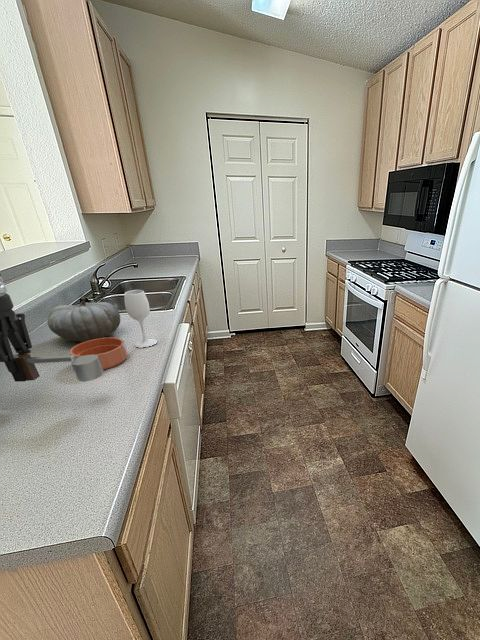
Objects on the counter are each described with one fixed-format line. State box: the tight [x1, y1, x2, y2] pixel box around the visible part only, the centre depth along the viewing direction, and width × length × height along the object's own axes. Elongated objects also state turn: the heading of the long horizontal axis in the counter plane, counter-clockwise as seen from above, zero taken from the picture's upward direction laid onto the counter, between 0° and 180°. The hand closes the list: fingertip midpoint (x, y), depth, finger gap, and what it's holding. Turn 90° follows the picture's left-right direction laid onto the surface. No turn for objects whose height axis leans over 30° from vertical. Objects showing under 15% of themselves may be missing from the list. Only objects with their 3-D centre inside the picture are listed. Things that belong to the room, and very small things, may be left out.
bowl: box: [69, 336, 128, 371], centre depth 117 cm, size 17×17×6 cm
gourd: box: [47, 297, 121, 343], centre depth 136 cm, size 25×25×17 cm
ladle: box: [13, 353, 105, 382], centre depth 91 cm, size 24×6×7 cm, turn 89°
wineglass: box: [123, 289, 158, 349], centre depth 128 cm, size 9×9×21 cm
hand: (25, 377), depth 93 cm, fingers closed on ladle, 2 cm apart
